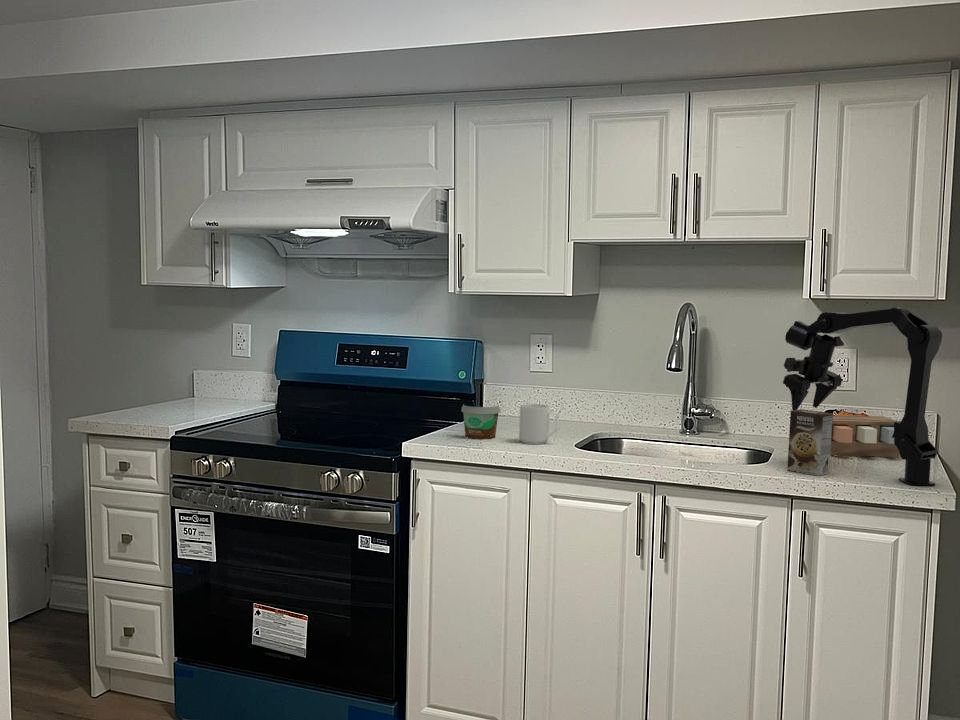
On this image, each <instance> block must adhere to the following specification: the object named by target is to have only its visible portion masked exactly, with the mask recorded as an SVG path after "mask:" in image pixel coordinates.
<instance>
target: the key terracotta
mask: <svg viewBox="0 0 960 720" xmlns="http://www.w3.org/2000/svg"><path fill="white" fill-rule="evenodd" d="M852 436H853V429H852V428H849V427H846V426H834V425H832V439H833V440H835V441H837V442H840V443H852Z"/></svg>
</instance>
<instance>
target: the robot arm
mask: <svg viewBox="0 0 960 720" xmlns="http://www.w3.org/2000/svg"><path fill="white" fill-rule="evenodd" d="M888 324H893V325H894V326H895V328H897V329H898V331H899V332H900V334H902V335H903V336H904V337H906V343H907V345H906V346H907V351H908V355H909V358H910V368H909V374H908V375H909V377H908V383H907V391H906V392H907V393H906V397H905V398H906V400H905V407H904V414H903V417H902V419H901V420H899V421H898V420H897V421H898V422H894V433H893V436H892V438H894V444H895V446H896V447H897V448H898V450H899V453H900V459H902V460H905V461H904V462H905V464H904V477H899V478H898V480H899V481H900V482H902V483H905V484H907V485H910V486H936V483H935V482H932V481H930V477H931V462H932V461H931V459H933V460H935V458H936V457H937V455H938V452H939V451H938V449H937V448H936V447H935V446H934V445H933V444H932V442H931V441H930V440H929V439H930V438H929V428H928V427H929V426H928V424H927V421H926V418H925V417H926V408H927V401H928V393H929V386H930V378H931V371H932V363H933V360H934V358H935V357H936V355H937V353H938V352H939V349H940V346H941V343H942V340H943V333H942V331H941V330H940V329H939V327H938V326H937V325H932V324H929V323H928V322H927V321H926V320H924V319H922V318H920V317H918V315H915V314H914V313H913V312H911V311H910V310H909V309H908V308H907V307H904V306H902V307H901V306H900V307H899V306H894V307H891V308H885V309H878V310H877V309H876V310H870V311H869V310H868V311H861V312H854V313H852V312H840V311H839V312H836V311H834V312H832V311H829V312H828V311H826V312H825V311H824V312H822V313H820V314H819V316H818V317H817V318H816V320H815V321H814V322H813V323H811V324H806V323H804V321H803V322H802V321H800V320H795V321H794V322H793V325H791V326H790V327H789V329H788V330H787V332H786V334H785V337H784V339H785V342H786V343H787V344H788V345H791V346H794V347H796V348H797V349H800V350H803V351H807V350H810V352H809V354H808V356H805V357H804V358H803V359H796V358H795V357H786V359H785V361H784V363H783V367H784V369H785V370H786V372H787V373H789V374H786V375H784V377H783V380H782V384H783V385H785V388H788V389H789V392H790V397H791V410H799V408H800V406H801V405H802V403H803V401H804V400H805V399H806V398H807V396H808V394H809V391H808V390H809V389H810V387H811V385H815V388H816V389H815V392H814V398H813V403H812V407H813V408H815V409H817V408H818V407H819V406H820V405H821V404H822V403H823V402H825V400H826V398H828V397H829V396H830V395H831V394H832V393H833V392H834V391H835V390H837V388H838V387H841V385H842V382H843V379H842V376H841V375H839V374H837V373H835V372H832V371H831V370H829V368H832V367H833V366H834V363H833V362H831V361H832V357H833V355H834V351H835V348H836V347H837V348H838V347H843V346H845V343H844V342H843V340H842V339H841V336H838V335H837V336H834V337H833V336H831V334H841V333H844V332H847V331H850V330H853V329H855V328H860V327H867V326H869V327H870V326H876V325H877V326H879V325H888ZM821 334H822V335H821ZM829 334H830V335H829ZM791 372H798V374H797V373H791ZM790 373H791V374H790Z"/></svg>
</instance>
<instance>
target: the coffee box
mask: <svg viewBox="0 0 960 720" xmlns="http://www.w3.org/2000/svg"><path fill="white" fill-rule="evenodd" d="M833 415H834V413H832V412H826V411H825V412H824V411H818V410H809V409H797V410H792V409H791V410H790V416H789V417H790V419H789V433H788V452H787V453H788V454H787V469H786V470H787V471H788V470H790V471H789V472H793V471H796V472H795V473H799V472H801V473H800V474H804V473H806V475H810V474H811V476H816V475H817V476H818V477H820V475H821V476H824V475H828V474H830V465H831V464H830V462H831V456H830V449H831V434H832V420H833Z"/></svg>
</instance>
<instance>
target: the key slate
mask: <svg viewBox="0 0 960 720" xmlns="http://www.w3.org/2000/svg"><path fill="white" fill-rule="evenodd" d="M893 433H894V427H882V426H880V437H879V440H880V441H883V442H886V443H889V444H894V438H892V436H893Z"/></svg>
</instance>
